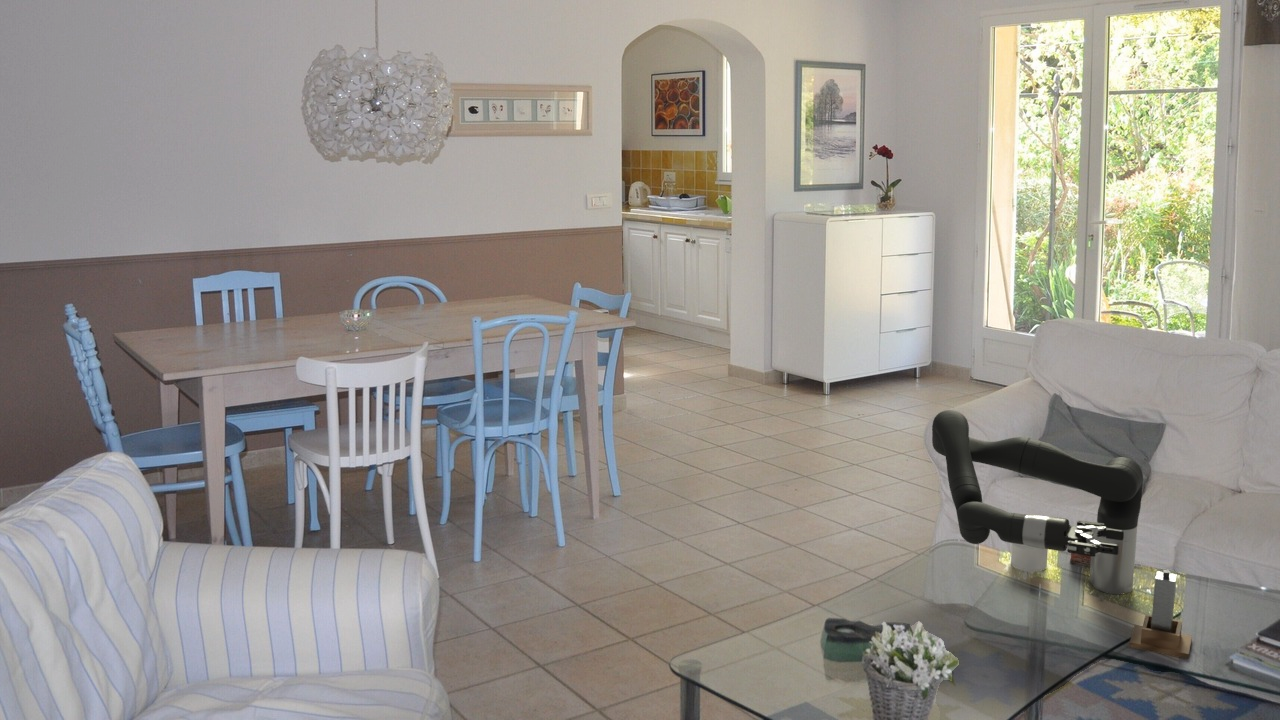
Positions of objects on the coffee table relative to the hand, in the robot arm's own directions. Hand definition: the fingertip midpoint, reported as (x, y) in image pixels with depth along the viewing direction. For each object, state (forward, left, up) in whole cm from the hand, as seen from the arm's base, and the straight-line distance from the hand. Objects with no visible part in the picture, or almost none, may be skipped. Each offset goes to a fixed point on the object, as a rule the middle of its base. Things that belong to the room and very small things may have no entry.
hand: (1121, 542), depth 252 cm
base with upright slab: (-37, +10, -23) cm, 45 cm away
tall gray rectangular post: (+8, +5, -22) cm, 24 cm away
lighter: (-29, +22, -23) cm, 43 cm away
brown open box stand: (+8, +5, -23) cm, 25 cm away
